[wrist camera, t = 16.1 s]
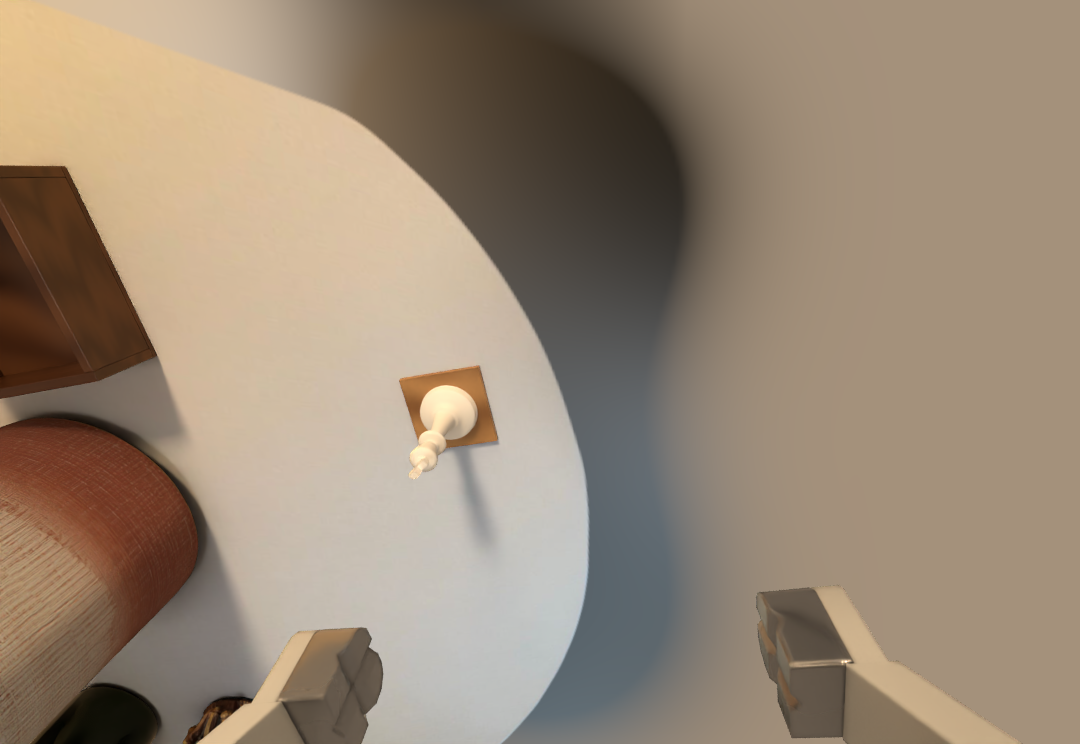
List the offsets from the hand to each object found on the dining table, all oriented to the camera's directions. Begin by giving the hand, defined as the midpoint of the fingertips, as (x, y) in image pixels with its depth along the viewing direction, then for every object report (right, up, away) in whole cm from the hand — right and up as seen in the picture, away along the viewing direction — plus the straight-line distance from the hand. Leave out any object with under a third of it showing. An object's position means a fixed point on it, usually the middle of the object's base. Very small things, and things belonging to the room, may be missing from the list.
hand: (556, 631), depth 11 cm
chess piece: (-8, +2, +34) cm, 35 cm away
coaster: (-8, +2, +34) cm, 35 cm away
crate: (-43, +13, +32) cm, 55 cm away
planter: (-44, -8, +41) cm, 61 cm away
